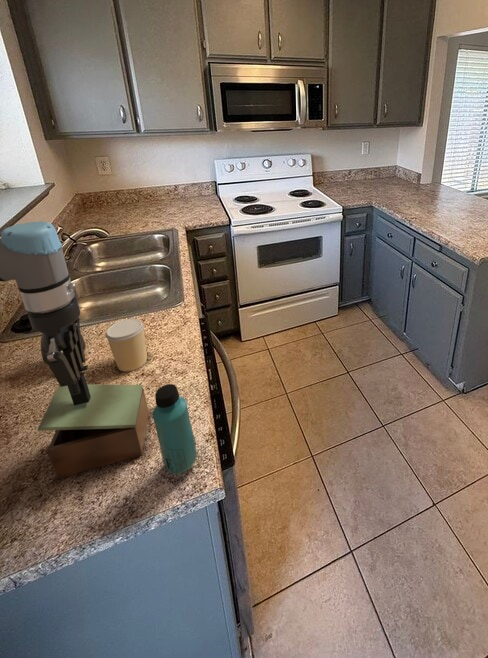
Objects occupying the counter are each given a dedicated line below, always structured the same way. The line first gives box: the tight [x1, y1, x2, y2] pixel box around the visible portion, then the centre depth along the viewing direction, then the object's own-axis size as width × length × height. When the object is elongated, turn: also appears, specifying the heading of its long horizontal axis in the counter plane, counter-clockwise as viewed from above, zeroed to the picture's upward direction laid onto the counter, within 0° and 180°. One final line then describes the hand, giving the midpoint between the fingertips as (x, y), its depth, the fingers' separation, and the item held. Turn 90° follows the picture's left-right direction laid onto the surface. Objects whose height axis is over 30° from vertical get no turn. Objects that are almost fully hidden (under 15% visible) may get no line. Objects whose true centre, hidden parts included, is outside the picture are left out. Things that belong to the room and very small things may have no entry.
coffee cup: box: [105, 318, 148, 372], centre depth 102 cm, size 9×9×12 cm
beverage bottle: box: [152, 383, 198, 475], centre depth 71 cm, size 6×7×20 cm
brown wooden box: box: [46, 387, 150, 479], centre depth 78 cm, size 16×12×8 cm
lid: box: [37, 383, 144, 432], centre depth 76 cm, size 17×12×1 cm
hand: (82, 401), depth 75 cm, fingers closed
